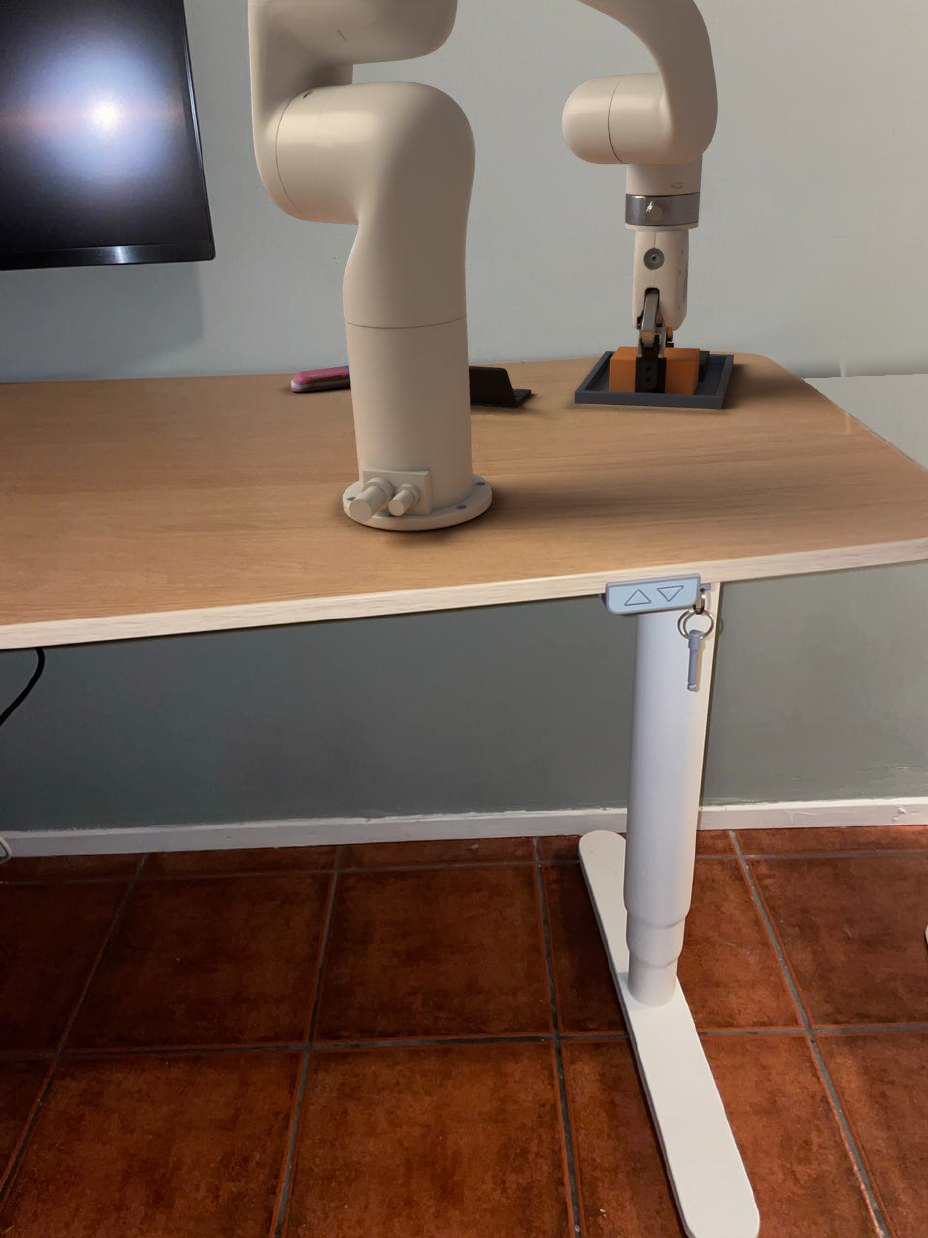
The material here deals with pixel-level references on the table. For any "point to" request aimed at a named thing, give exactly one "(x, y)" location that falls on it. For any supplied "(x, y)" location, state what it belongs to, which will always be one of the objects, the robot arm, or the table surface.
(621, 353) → the orange block
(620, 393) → the pad tray
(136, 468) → the table surface
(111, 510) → the table surface
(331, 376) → the eraser
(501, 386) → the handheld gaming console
